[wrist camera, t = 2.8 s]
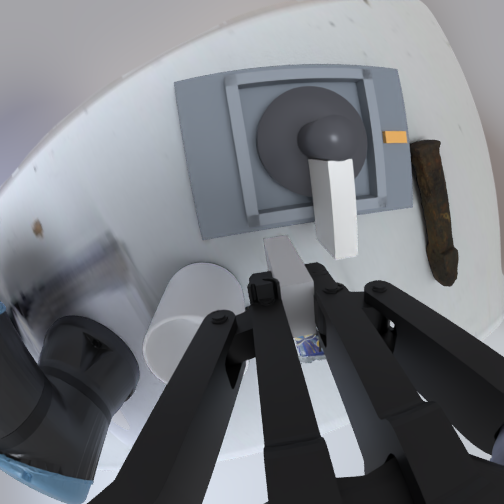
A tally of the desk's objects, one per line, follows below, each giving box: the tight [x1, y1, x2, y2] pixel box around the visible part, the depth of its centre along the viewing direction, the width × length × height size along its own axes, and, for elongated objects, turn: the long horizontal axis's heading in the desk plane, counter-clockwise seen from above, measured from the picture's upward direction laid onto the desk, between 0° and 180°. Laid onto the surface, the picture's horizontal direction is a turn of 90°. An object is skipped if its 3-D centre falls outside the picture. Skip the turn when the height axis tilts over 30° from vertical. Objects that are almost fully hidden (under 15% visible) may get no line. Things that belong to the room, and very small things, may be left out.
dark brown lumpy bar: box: [410, 140, 458, 287], centre depth 27 cm, size 19×4×5 cm, turn 20°
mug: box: [143, 263, 249, 384], centre depth 26 cm, size 9×12×11 cm
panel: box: [174, 64, 413, 240], centre depth 23 cm, size 22×15×4 cm
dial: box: [256, 86, 367, 260], centre depth 20 cm, size 13×10×7 cm
